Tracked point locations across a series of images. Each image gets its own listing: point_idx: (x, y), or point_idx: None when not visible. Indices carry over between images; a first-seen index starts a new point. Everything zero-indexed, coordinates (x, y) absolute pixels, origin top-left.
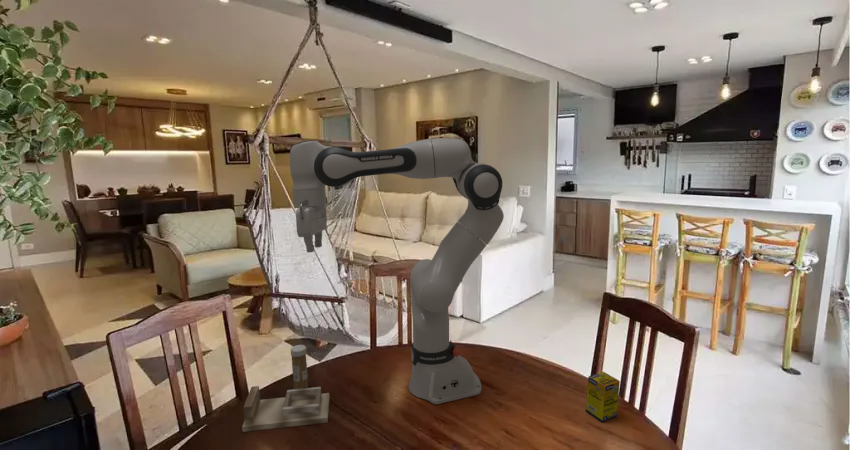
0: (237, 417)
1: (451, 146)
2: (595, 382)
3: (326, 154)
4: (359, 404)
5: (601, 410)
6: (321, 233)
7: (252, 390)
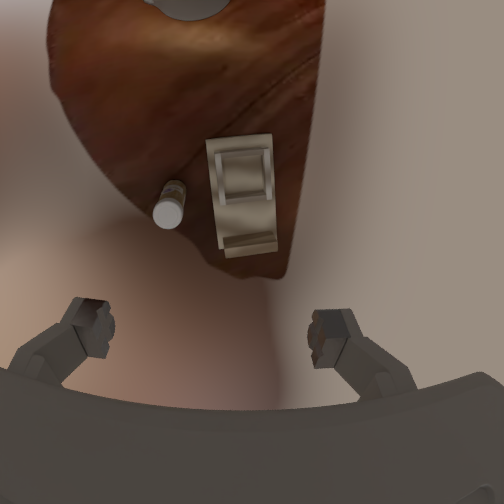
0: None
1: None
2: None
3: None
4: (229, 91)
5: None
6: (33, 362)
7: (236, 253)
